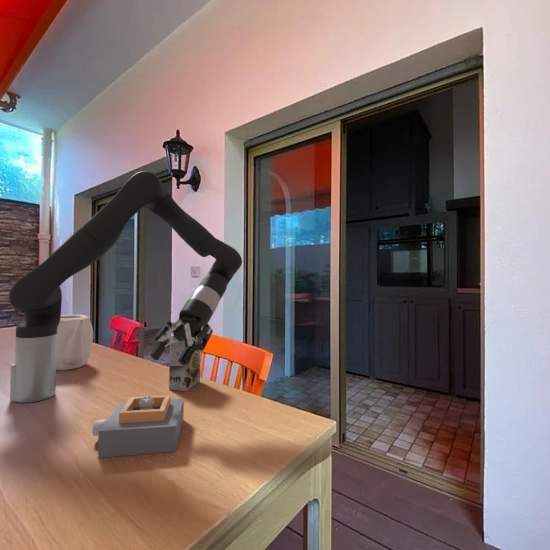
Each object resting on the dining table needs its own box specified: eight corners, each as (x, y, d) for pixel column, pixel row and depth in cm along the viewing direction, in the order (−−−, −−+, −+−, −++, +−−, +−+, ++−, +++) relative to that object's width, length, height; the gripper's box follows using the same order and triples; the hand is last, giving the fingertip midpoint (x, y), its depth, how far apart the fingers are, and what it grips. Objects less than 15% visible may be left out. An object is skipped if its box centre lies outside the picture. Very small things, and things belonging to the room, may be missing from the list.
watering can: (53, 381, 101) (55, 322, 101) (33, 364, 118) (34, 314, 118) (105, 370, 112) (106, 318, 112) (80, 357, 130) (81, 311, 130)
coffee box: (187, 391, 93) (188, 337, 93) (168, 389, 95) (169, 336, 95) (201, 381, 102) (202, 332, 102) (182, 380, 103) (183, 331, 104)
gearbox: (80, 459, 58) (81, 421, 58) (106, 424, 72) (107, 393, 72) (175, 451, 61) (176, 415, 61) (183, 419, 75) (184, 390, 75)
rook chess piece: (135, 443, 64) (136, 403, 64) (133, 433, 68) (134, 396, 68) (158, 438, 66) (159, 400, 66) (155, 429, 70) (156, 393, 70)
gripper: (173, 296, 83) (136, 348, 73) (216, 298, 77) (183, 355, 67) (186, 314, 88) (153, 365, 78) (228, 318, 82) (199, 374, 71)
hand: (167, 360), depth 72 cm, fingers open, 8 cm apart
